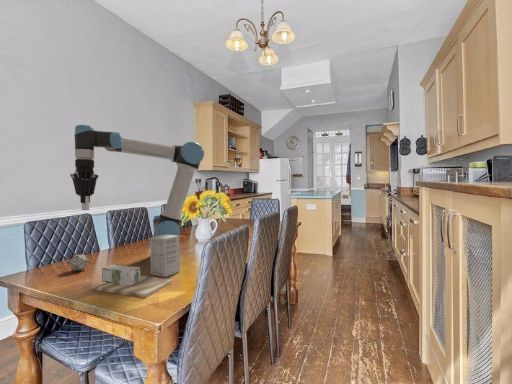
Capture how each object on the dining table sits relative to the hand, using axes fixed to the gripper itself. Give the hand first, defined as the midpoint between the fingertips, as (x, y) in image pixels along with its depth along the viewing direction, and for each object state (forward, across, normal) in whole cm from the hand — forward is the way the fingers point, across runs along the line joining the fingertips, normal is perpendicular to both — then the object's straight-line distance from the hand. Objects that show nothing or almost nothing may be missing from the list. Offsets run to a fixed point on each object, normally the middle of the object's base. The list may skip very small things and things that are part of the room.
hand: (85, 209), depth 128 cm
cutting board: (+28, +10, +37) cm, 47 cm away
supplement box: (+29, -8, +38) cm, 48 cm away
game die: (+29, +1, -3) cm, 29 cm away
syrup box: (+24, +10, +22) cm, 34 cm away
